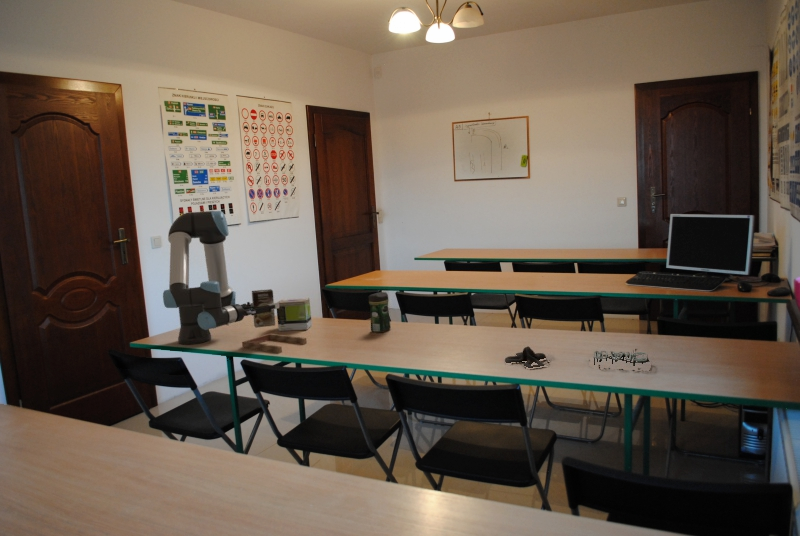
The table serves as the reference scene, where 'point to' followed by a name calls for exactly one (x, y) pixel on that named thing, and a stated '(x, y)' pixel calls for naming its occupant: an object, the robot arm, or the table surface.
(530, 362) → the cloth
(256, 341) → the brown wooden flat frame
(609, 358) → the neon sign
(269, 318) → the coffee box
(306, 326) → the tea box
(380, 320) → the coffee jar
